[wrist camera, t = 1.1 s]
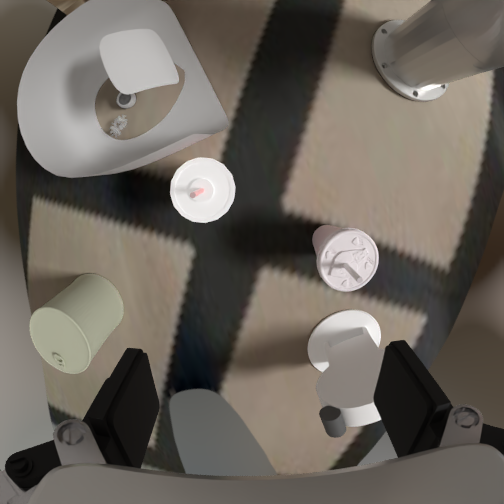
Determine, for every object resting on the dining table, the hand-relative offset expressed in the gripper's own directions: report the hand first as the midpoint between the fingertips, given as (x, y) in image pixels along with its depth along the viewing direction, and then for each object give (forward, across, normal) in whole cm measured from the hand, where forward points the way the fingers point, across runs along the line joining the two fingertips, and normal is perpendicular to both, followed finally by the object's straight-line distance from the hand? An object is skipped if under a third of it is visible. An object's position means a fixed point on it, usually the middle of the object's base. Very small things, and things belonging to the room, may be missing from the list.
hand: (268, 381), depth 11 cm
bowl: (+29, +15, -17) cm, 37 cm away
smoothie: (+28, -9, +2) cm, 30 cm away
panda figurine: (+28, -12, +18) cm, 36 cm away
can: (+28, +23, +10) cm, 38 cm away
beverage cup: (+28, +5, -5) cm, 29 cm away
